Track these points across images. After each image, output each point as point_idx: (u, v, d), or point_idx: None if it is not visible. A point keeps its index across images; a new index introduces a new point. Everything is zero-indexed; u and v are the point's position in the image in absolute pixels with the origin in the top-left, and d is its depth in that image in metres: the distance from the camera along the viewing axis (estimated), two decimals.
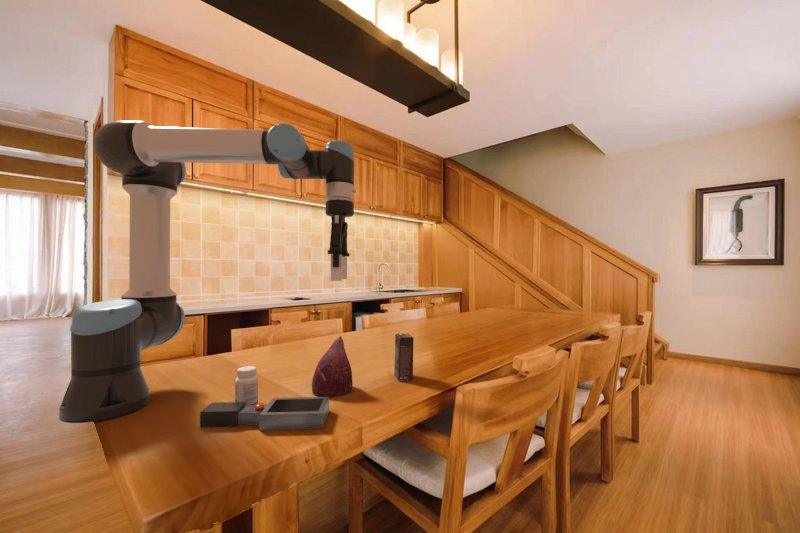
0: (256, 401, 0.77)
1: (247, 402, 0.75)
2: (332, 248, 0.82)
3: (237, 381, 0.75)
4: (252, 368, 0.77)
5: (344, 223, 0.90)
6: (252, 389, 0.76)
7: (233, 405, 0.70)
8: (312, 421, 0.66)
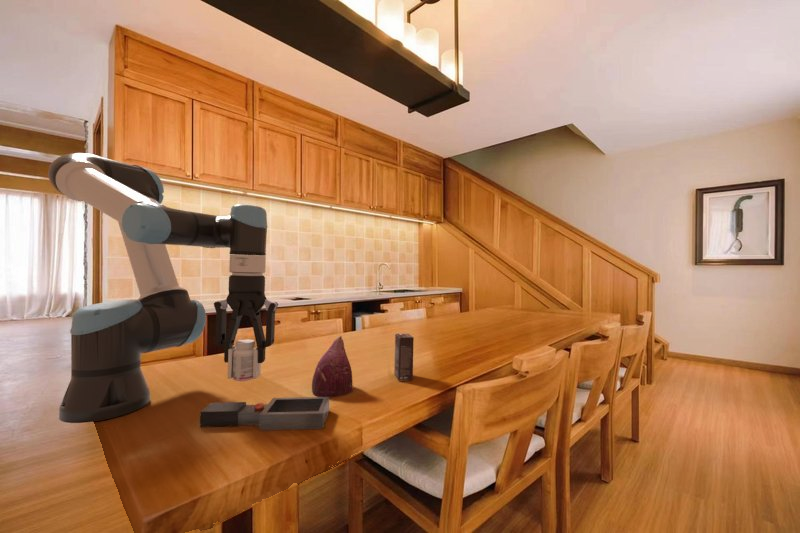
0: None
1: (245, 374, 0.75)
2: None
3: (235, 353, 0.75)
4: (251, 341, 0.77)
5: None
6: (249, 361, 0.76)
7: (233, 405, 0.70)
8: (312, 421, 0.66)
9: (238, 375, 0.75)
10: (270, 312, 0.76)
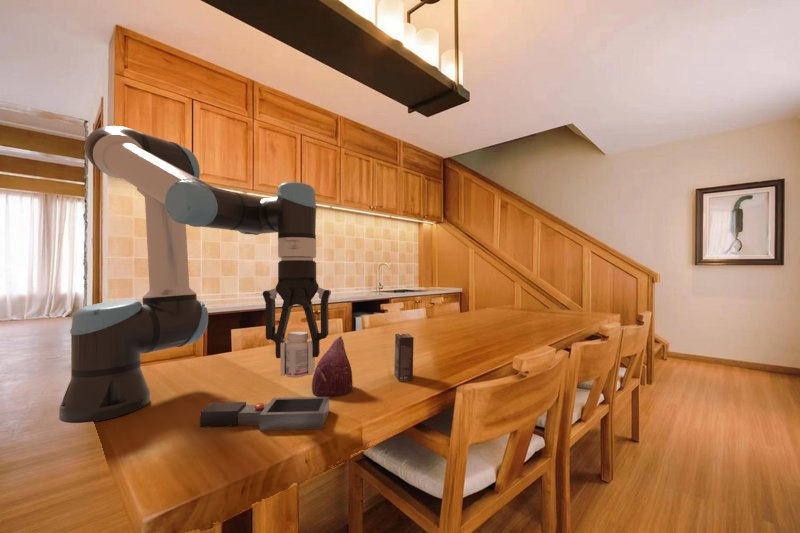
0: None
1: (300, 369, 0.68)
2: None
3: (288, 346, 0.68)
4: (304, 333, 0.70)
5: None
6: (304, 355, 0.68)
7: (233, 405, 0.70)
8: (312, 421, 0.66)
9: (293, 371, 0.67)
10: (324, 300, 0.69)
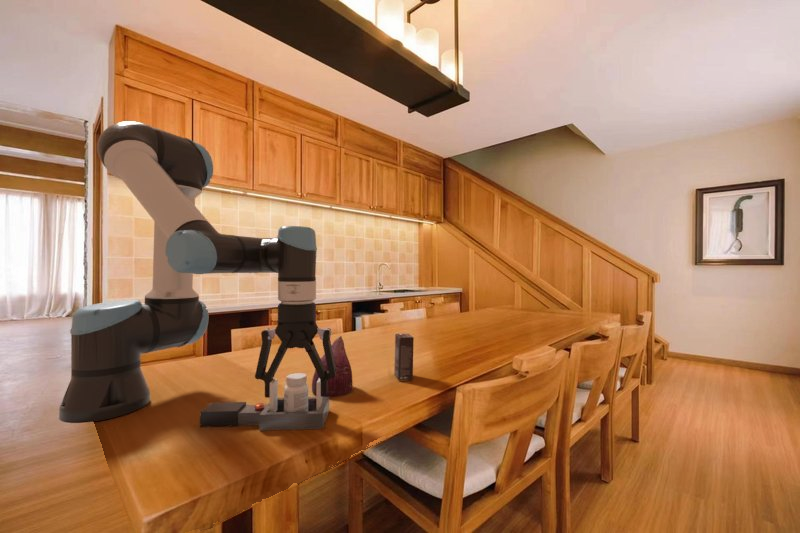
0: None
1: None
2: None
3: (287, 390, 0.68)
4: (302, 376, 0.70)
5: (285, 334, 0.68)
6: (303, 399, 0.68)
7: (233, 405, 0.70)
8: (312, 421, 0.66)
9: None
10: (326, 340, 0.69)
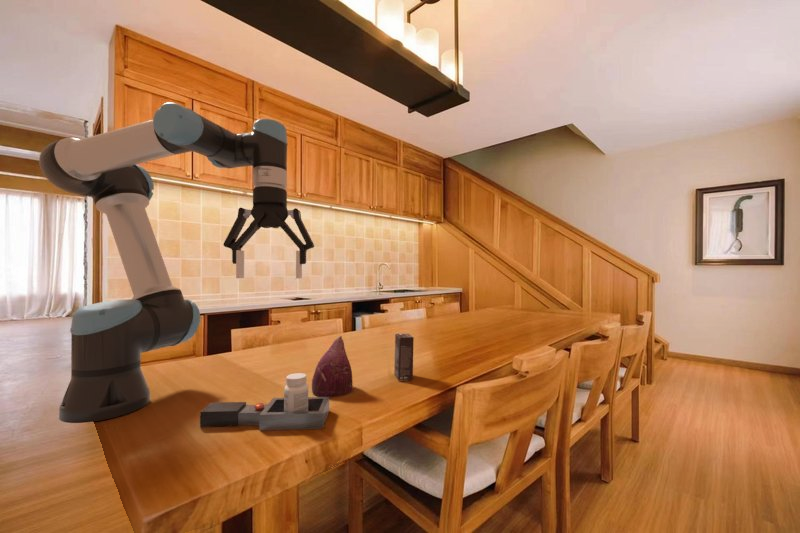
0: None
1: None
2: None
3: (287, 390, 0.68)
4: (302, 376, 0.70)
5: None
6: (303, 399, 0.68)
7: (233, 405, 0.70)
8: (312, 421, 0.66)
9: None
10: (297, 217, 0.80)
